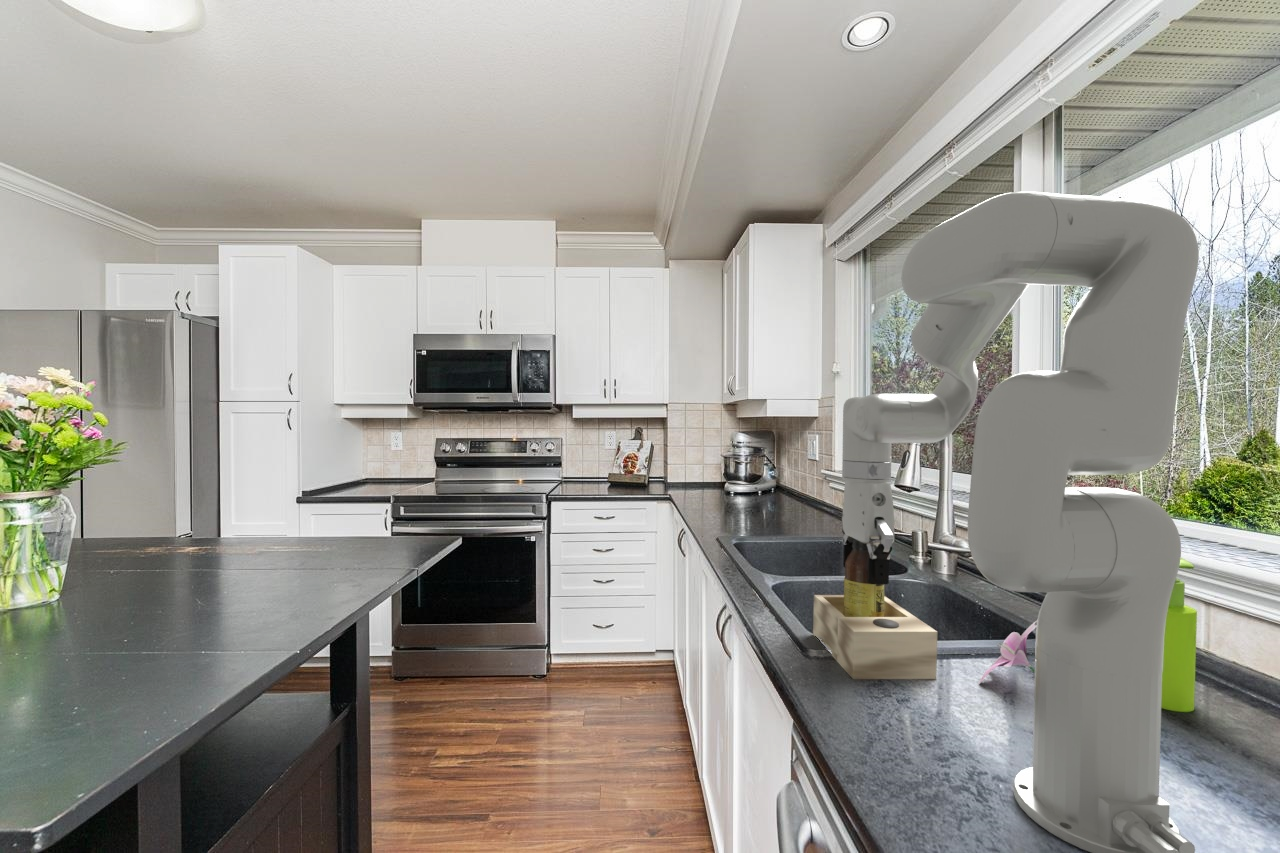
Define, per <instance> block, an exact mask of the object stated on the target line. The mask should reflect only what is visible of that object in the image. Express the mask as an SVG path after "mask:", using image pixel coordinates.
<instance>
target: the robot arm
mask: <svg viewBox="0 0 1280 853" xmlns="http://www.w3.org/2000/svg"><path fill="white" fill-rule="evenodd" d="M1199 253H1200V252H1199V244H1198V240H1197V236H1196V232H1194V229H1193V228H1192V226H1191V225H1190V223H1189V222H1188V221H1187V220H1186V218H1184V217H1183V216H1182V215H1180V214H1179V213H1177V212H1175V211H1174V210H1172V209H1169V208H1167V207H1164V206H1162V205H1159V204H1155V203H1150V202H1146V201H1141V200H1133V199H1127V198H1125V199H1124V198H1118V197H1108V196H1106V197H1105V196H1098V195H1096V196H1095V195H1085V194H1082V195H1078V194H1063V193H1054V192H1052V193H1051V192H1040V191H1014V192H1007V193H1003V194H998V195H996V196H993V197H991V198H988V199H986V200H984V201H982V202H980V203H978V204H976V205H974V206H973V207H972V206H971V207H970V208H968V209H966V210H964V211H963V212H961V213H959V214H957V215H955V216H953V217H951V218H949V219H948V220H945V221H944V222H941V223H940V224H939V225H936V226H935V227H933V228H931V229H930V230H928V231H927V232H926V233H925V234H924V235H922V236H921V237H920V238H919V239H918V240H917V241H916V243H914V245H913V246H912V248H911V249H909V252H908V254H907V256H906V257H905V260H904V263H903V266H902V270H901V286H902V289H903V291H904V294H905V295H906V297H907V298H909V299H910V300H912V301H913V302H916V303H919V304H928V305H927V307H926V308H925V310H924V311H923V313H922V314H921V316H920V318H919V319H918V322H917V323H916V324H915V326H914V328H913V330H912V331H911V336H910V342H911V346H912V348H913V349H914V351H915V352H916V353H917V354H918V356H919V357H920V358H922V359H923V360H924V361H925V362H927V363H928V364H930V365H931V366H932V367H935V368H936V369H939V370H940V371H942V372H944V375H943V377H942V378H941V380H940V381H939V383H938V384H937V386H936V387H935V388H934V390H933V391H931V393H929V394H928V393H872V394H868V395H866V396H858V397H850V398H848V399H846V400H845V401H844V403H843V408H842V409H843V410H842V455H841V456H842V458H841V459H842V462H841V463H842V467H841V468H842V471H841V472H842V473H841V474H842V475H841V480H842V481H844V488H843V489H844V490H843V497H842V498H843V500H842V501H843V503H842V516H841V521H842V534H843V537H842V544H843V545H842V547H843V550H842V552H843V553H842V554H843V555H842V566H843V568H844V569H845V562H846V560H847V557H848V556H849V555H850V553H851V551H852V550H853V547H852V544H853V538H854V539H856V540H857V541H859V542H862V543H864V544H867V547H868V551H869V554H870V558H868V564H867V582H868V583H869V584H884V585H888V584H889V582H890V559H891V553H892V551H893V544H894V542H895V514H894V513H895V512H894V500H893V498H894V497H893V493H892V492H893V490H892V485H891V482H892V449H893V448H892V447H893V446H892V444H900V443H901V444H933V443H938V442H940V441H943V440H945V439H946V438H948V437H949V436H950V435H951V434H952V433H953V432H954V431H955V430H957V428H958V427H959V426H960V425H961V424H962V422H963V421H964V420H965V419H966V417H967V416H968V415H969V414H970V412H971V410H972V409H973V407H974V405H975V403H976V399H977V395H978V389H979V388H978V387H979V373H978V369H977V366H976V361H975V360H976V358H977V357H978V355H979V354H980V352H982V350H983V349H984V348H985V346H986V344H987V343H988V342H989V340H990V339H991V338H992V336H993V335H994V333H995V332H996V331H997V329H998V328H999V327H1000V325H1001V324H1002V323H1003V321H1004V320H1005V319H1006V317H1007V316H1008V315H1009V313H1010V312H1011V311H1012V309H1013V308H1014V307H1015V305H1016V304H1017V302H1018V301H1019V300H1020V298H1021V297H1022V295H1024V292H1025V291H1026V290H1027V289H1028V287H1029V285H1040V286H1041V285H1042V286H1066V287H1067V286H1068V287H1081V288H1082V287H1083V288H1087V289H1089V290H1088V291H1087V292H1086V293H1085V294H1084V295H1083V297H1081V299H1080V300H1079V301H1078V303H1077V304H1076V306H1075V308H1074V309H1073V311H1072V313H1071V315H1070V316H1069V319H1068V321H1067V323H1066V326H1065V329H1064V332H1063V340H1062V342H1063V344H1062V356H1061V361H1060V367H1059V370H1058V371H1056V370H1055V371H1054V370H1034V371H1027V372H1020V373H1017V374H1014V375H1011V376H1009V377H1007V378H1005V379H1004V380H1002V381H1001V382H999V383H998V384H996V386H995V387H994V388H993V389H992V390H991V391H990V393H988V395H987V396H986V398H985V399H984V402H983V404H982V406H981V407H980V410H979V413H978V415H977V419H976V423H975V430H974V438H973V451H972V462H971V471H970V472H971V475H970V487H969V499H968V511H967V512H968V513H967V541H968V547H969V551H970V554H971V558H972V560H973V563H974V564H975V566H976V567H977V569H978V571H979V573H981V574H982V576H983V577H984V578H986V580H988V582H991V583H992V584H994V585H995V586H996V587H998V588H1001V589H1005V590H1008V591H1012V592H1017V593H1046V594H1045V597H1044V599H1043V601H1042V603H1041V606H1040V609H1039V611H1038V615H1037V620H1036V621H1037V622H1036V625H1037V626H1036V628H1035V629H1036V630H1035V644H1034V645H1035V648H1034V649H1035V650H1034V653H1035V654H1034V670H1035V673H1034V683H1033V684H1034V685H1033V686H1034V691H1033V694H1034V695H1033V725H1032V726H1033V727H1032V728H1033V730H1032V731H1033V734H1032V736H1033V737H1032V767H1027V768H1025V769H1022V770H1020V771H1019V772H1018V773H1017V774H1016V775H1015V777H1014V779H1013V796H1014V799H1015V800H1016V802H1017V804H1018V805H1019V807H1020V808H1021V809H1022V810H1023V811H1024V812H1025V814H1026V815H1027V816H1028V817H1029V818H1031V820H1032V821H1034V822H1035V823H1036V824H1037V825H1039V826H1040V827H1042V828H1043V829H1045V830H1046V831H1047V832H1049V833H1050V834H1052V835H1053V836H1056V837H1057V838H1059V839H1061V840H1062V841H1064V842H1066V843H1068V844H1070V845H1073V846H1074V847H1077V848H1079V849H1080V850H1083V851H1086V852H1089V853H1195V852H1196V847H1195V845H1194V843H1193V842H1192V841H1191V840H1189V839H1187V838H1186V837H1185V836H1183V835H1182V834H1181V831H1180V829H1179V827H1178V825H1177V824H1176V823H1175V822H1174V820H1173V819H1172V818H1171V817H1170V803H1169V802H1167V801H1166V800H1164V799H1163V798H1162V797H1161V796H1160V769H1161V768H1160V765H1161V762H1160V761H1161V732H1162V729H1161V728H1162V727H1161V726H1162V708H1161V698H1162V672H1163V656H1164V635H1165V625H1166V617H1167V611H1168V606H1169V601H1170V597H1171V593H1172V590H1173V587H1174V583H1175V580H1176V578H1177V576H1178V573H1179V569H1180V568H1179V565H1180V558H1182V557H1181V556H1182V542H1181V537H1180V533H1179V530H1178V527H1177V525H1176V524H1175V522H1174V520H1173V519H1172V517H1171V516H1170V514H1169V513H1168V512H1167V511H1166V510H1165V509H1164V508H1163V506H1161V505H1159V504H1158V503H1157V502H1155V501H1154V500H1152V499H1150V498H1149V497H1146V496H1144V495H1143V494H1139V493H1138V492H1134V491H1129V490H1126V489H1121V488H1116V487H1105V486H1104V487H1102V486H1087V487H1086V486H1080V487H1078V486H1077V487H1075V486H1074V487H1073V486H1071V487H1069V486H1068V487H1066V486H1067V482H1068V481H1067V480H1068V476H1113V475H1114V476H1115V475H1126V474H1135V473H1140V472H1143V471H1147V470H1148V469H1151V468H1153V467H1154V466H1156V465H1157V464H1159V463H1160V462H1161V461H1162V459H1163V458H1164V457H1165V456H1166V454H1167V452H1168V450H1169V447H1170V445H1171V444H1170V443H1171V441H1172V440H1171V439H1172V435H1173V430H1174V429H1173V428H1174V420H1175V413H1176V405H1177V404H1176V403H1177V396H1178V388H1179V380H1180V372H1181V364H1182V357H1183V343H1184V342H1183V341H1184V337H1183V336H1184V331H1185V324H1186V323H1185V322H1186V317H1187V314H1188V308H1189V304H1190V300H1191V296H1192V292H1193V288H1194V285H1195V281H1196V278H1197V273H1198V267H1199V257H1200V255H1199ZM874 546H877V548H876V550H875V548H874Z"/></svg>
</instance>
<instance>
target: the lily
mask: <svg viewBox="0 0 1280 853" xmlns="http://www.w3.org/2000/svg"><path fill="white" fill-rule="evenodd" d="M1036 626H1037V620H1035V621H1034V622H1033V623H1032V624H1030V625H1029V626H1028V628H1026V630H1024V631H1023V633H1022V634H1021V635H1020V633H1019V632H1015V631H1013V632H1011V633H1010V634H1009V635H1008V636H1007V637H1006V638H1005V639H1004V641H1002V643H1001V642H1000V643H998V644H999V645H996V646H997V647H1000V649H999V650H1000V656H999V657H998V658H997V659H996V660H995V661H994V662H993V663H992V664H991V665H990V666H989V667H988V668H987V669H986V670H985V672H984V674H982V676H981V678H980V679H979V681H978V685H980V684H981V683H982V682H983V680H984V679H985V678H987V676H988V675H989V674H990V673H991V672H992V671H993V670H995V669H996V668H997V667H1005V668H1010V667H1013V666H1018V667H1019V666H1026V667H1028V669H1030V670H1031V671H1032V673H1034V674H1035V668H1033V667H1032V665H1031V664H1030V662H1029V659H1028V653H1027V640H1028V639H1027V638H1028V636H1029V634H1030V633H1031V632H1032V631H1034V630H1035V629H1036Z"/></svg>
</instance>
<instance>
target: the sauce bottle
mask: <svg viewBox="0 0 1280 853" xmlns="http://www.w3.org/2000/svg"><path fill="white" fill-rule="evenodd" d="M852 547H853V550H852V551H851V553H850V555H849V556H848V557H847V560H846V562H845V568H844V569H845V570H844V579H843V580H844V584H843V591H844V592H843V595H844V616H845V617H884V596H885V584H869V583H868V582H867V564H868V558H870V554H869V551H868V547H867V544H864V543H862V542H859V541H857V540H856V539H854V538H853V544H852ZM874 548H875V550H876V548H877V546H874Z"/></svg>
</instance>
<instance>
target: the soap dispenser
mask: <svg viewBox="0 0 1280 853" xmlns="http://www.w3.org/2000/svg"><path fill="white" fill-rule="evenodd" d="M1179 569H1189V570H1190V569H1191V570H1194V569H1195V566H1194V564H1192V563H1191V562H1190V561H1188V560H1187V559H1185V558H1183V557H1181V558H1180V565H1179ZM1185 586H1186V584H1185V582H1184V581H1182V580H1181V579H1179V578H1177V577H1176V580H1175V583H1174V587H1173V590H1172V593H1171V597H1170V601H1169V606H1168V611H1167V617H1166V625H1165V635H1164V656H1163V672H1162V698H1161V709H1164V710H1166V711H1167V710H1168V711H1172V712H1179V713H1189V712H1194V710H1195V697H1196V696H1195V695H1196V694H1195V692H1196V687H1195V686H1196V663H1197V662H1196V657H1197V656H1196V655H1197V652H1196V651H1197V626H1198V623H1197V621H1198V620H1197V619H1198V617H1197V616H1198V611H1197V609H1195V608H1193V607H1190V606H1188V605H1185V590H1186V589H1185V588H1186V587H1185Z"/></svg>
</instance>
